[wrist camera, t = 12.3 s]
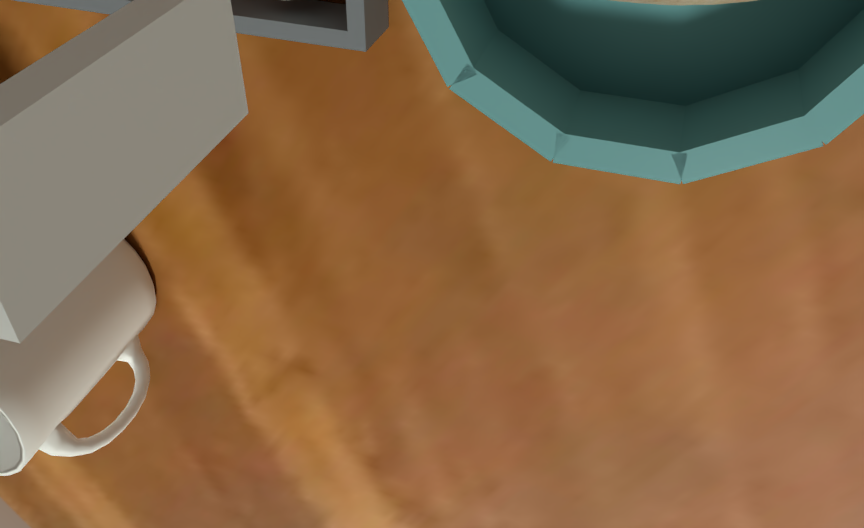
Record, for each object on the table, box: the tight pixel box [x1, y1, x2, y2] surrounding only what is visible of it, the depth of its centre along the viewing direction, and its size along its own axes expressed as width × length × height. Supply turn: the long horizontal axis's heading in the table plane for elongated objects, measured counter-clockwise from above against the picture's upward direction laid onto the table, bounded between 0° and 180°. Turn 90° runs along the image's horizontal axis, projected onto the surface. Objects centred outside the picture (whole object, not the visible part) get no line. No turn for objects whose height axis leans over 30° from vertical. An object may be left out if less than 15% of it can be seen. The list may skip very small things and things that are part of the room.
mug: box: [0, 239, 156, 476], centre depth 42 cm, size 10×12×12 cm
